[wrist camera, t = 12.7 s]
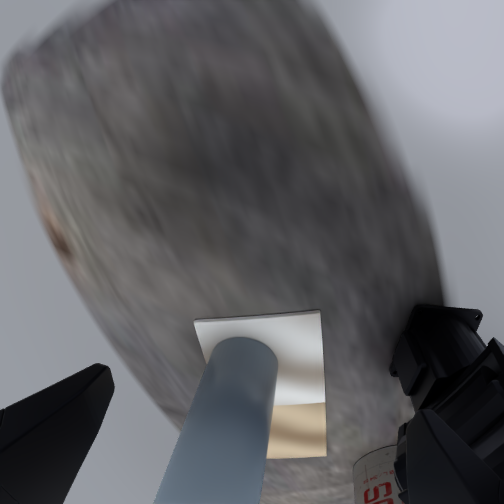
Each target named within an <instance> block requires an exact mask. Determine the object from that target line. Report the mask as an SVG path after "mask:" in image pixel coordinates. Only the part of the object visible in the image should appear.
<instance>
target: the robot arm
mask: <svg viewBox="0 0 504 504" xmlns="http://www.w3.org/2000/svg"><path fill="white" fill-rule="evenodd" d="M420 310H422V311H421V313H418V312H419V311H420ZM477 315H478V316H477ZM476 316H477V317H476ZM475 317H476V318H475ZM482 317H483V314H482V312H481V311H480V310H478V309H465V308H455V307H443V306H433V305H422V304H420V305H417V306H415V307H414V309H413V311H412V314H411V317H410V320H409V322H408V325H407V328H406V330H405V331H404V332H403V333H402V336H401V338H400V341H399V344H398V346H397V349H396V351H395V353H394V356H393V363H392V365H391V367H390V370H389V371H390V374H391V376H393V377H399V379H400V382H401V385H402V388H403V392H404V394H405V395H406V396H410V398H411V401H412V404H413V407H414V410H415V413H416V414H415V415H414V417H413V418H412V419H411V420H410V421H409V422H407V423H404V424H403V425H402V426H400V427H399V431H398V441H397V450H396V458H395V461H394V463H393V468H394V476H395V481H396V484H397V486H398V488H399V490H400V493H399V494H398V497H399V498H400V500H401V501H402V502H403V503H404V504H504V346H503V345H502V344H501V343H500V342H499V341H498V340H496V339H495V338H494V337H493V338H492V339H491V340H490V342H489V343H488V346H486V345H485V343H484V342H483V341H482V339H481V338H480V336H479V335H478V334H477V332H476V331H477V329H478V327H479V324H480V322H481V320H482ZM395 370H397V371H395ZM114 388H115V386H114V382H113V378H112V374H111V370H110V368H109V367H108V366H106V365H103V364H100V363H96V364H93V365H92V366H89V367H87V368H85V369H84V370H81V371H79V372H77V373H75V374H73V375H72V376H69V377H67V378H65V379H63V380H61V381H59V382H57V383H55V384H53V385H51V386H49V387H47V388H45V389H43V390H41V391H39V392H37V393H35V394H33V395H31V396H29V397H27V398H25V399H22V400H20V401H18V402H16V403H14V404H12V405H10V406H8V407H6V408H5V409H1V410H0V504H63V502H64V500H65V498H66V496H67V494H68V492H69V490H70V488H71V486H72V484H73V482H74V479H75V478H76V475H77V473H78V471H79V469H80V467H81V465H82V463H83V461H84V459H85V457H86V455H87V454H88V452H89V450H90V448H91V446H92V444H93V442H94V440H95V438H96V436H97V434H98V432H99V429H100V427H101V424H102V422H103V419H104V416H105V414H106V411H107V408H108V406H109V403H110V401H111V398H112V396H113V393H114Z"/></svg>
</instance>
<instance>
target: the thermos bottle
mask: <svg viewBox="0 0 504 504" xmlns="http://www.w3.org/2000/svg"><path fill="white" fill-rule="evenodd" d="M396 450H397V445H395V446H389V447H386V448H382V449H379V450H376V451H374V452H371V453H369V454H367V455H366V456H364V457H362V458H361V459H360V460H359V461H358V462H357V463H356V464H355V465H354V467H353V480H354V495H355V504H404V503H403V502H402V501H401V500H400V498H399V497H398V494H399V493H400V490H399V488H398V486H397V484H396V481H395V476H394V468H393V463H394V461H395V458H396Z"/></svg>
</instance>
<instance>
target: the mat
mask: <svg viewBox="0 0 504 504" xmlns="http://www.w3.org/2000/svg"><path fill="white" fill-rule="evenodd" d="M193 323H194V326H195V329H196V333H197V336H198V339H199V342H200V345H201V349H202V352H203V355H204V358H205V361H206V364H207V363H208V361H209V358H210V356H211V353H212V351H213V349H214V347H215V346H216V345H217V344H219V343H220V342H222V341H224V340H226V339H229V338H235V337H243V338H250V339H254V340H256V341H259V342H261V343H263V344H264V345H266V346H267V347H269V348H270V349H271V350H272V351H273V353H274V354H275V356H276V358H277V360H278V374H277V382H276V390H275V398H274V406H273V414H272V422H271V429H270V436H269V443H268V450H267V457H266V458H303V457H319V456H326V407H325V382H324V362H323V346H322V331H321V317H320V310H315V311H305V312H295V313H285V314H273V315H261V316H248V317H234V318H218V319H199V320H195V321H194V322H193Z"/></svg>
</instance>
